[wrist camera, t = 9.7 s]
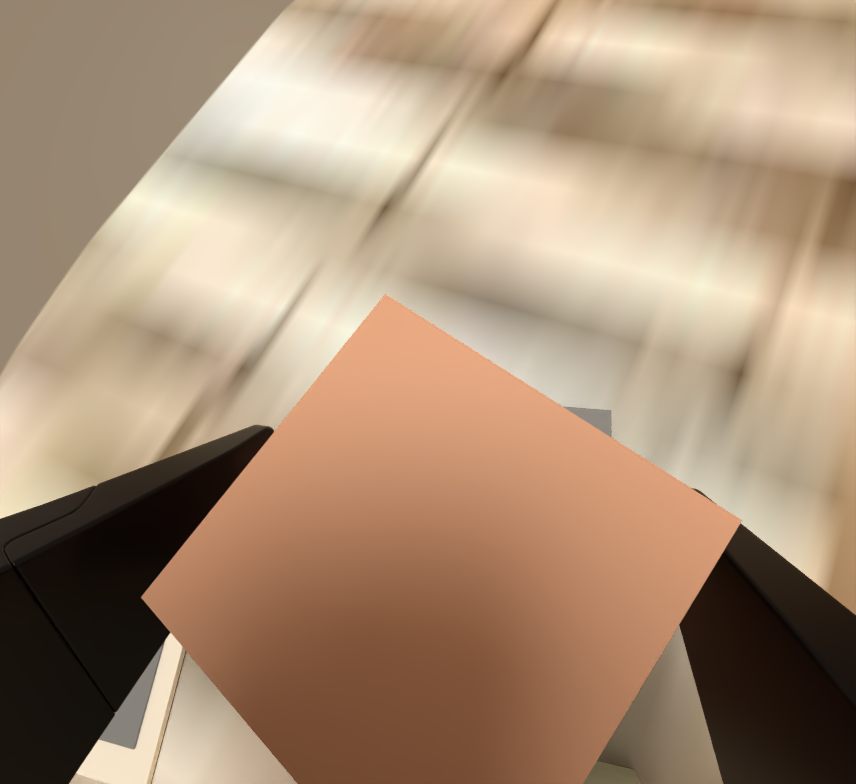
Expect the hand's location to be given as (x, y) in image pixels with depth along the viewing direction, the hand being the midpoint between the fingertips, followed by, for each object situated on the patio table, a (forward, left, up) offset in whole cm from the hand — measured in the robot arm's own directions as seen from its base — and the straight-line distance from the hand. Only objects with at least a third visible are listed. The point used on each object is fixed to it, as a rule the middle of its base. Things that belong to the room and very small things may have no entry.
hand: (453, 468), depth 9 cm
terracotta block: (-1, 0, -9) cm, 9 cm away
